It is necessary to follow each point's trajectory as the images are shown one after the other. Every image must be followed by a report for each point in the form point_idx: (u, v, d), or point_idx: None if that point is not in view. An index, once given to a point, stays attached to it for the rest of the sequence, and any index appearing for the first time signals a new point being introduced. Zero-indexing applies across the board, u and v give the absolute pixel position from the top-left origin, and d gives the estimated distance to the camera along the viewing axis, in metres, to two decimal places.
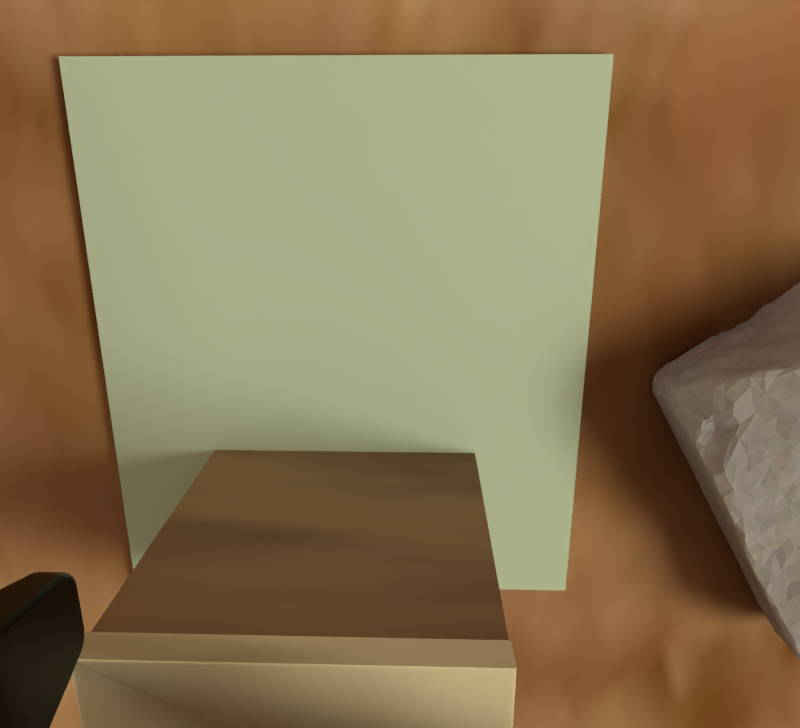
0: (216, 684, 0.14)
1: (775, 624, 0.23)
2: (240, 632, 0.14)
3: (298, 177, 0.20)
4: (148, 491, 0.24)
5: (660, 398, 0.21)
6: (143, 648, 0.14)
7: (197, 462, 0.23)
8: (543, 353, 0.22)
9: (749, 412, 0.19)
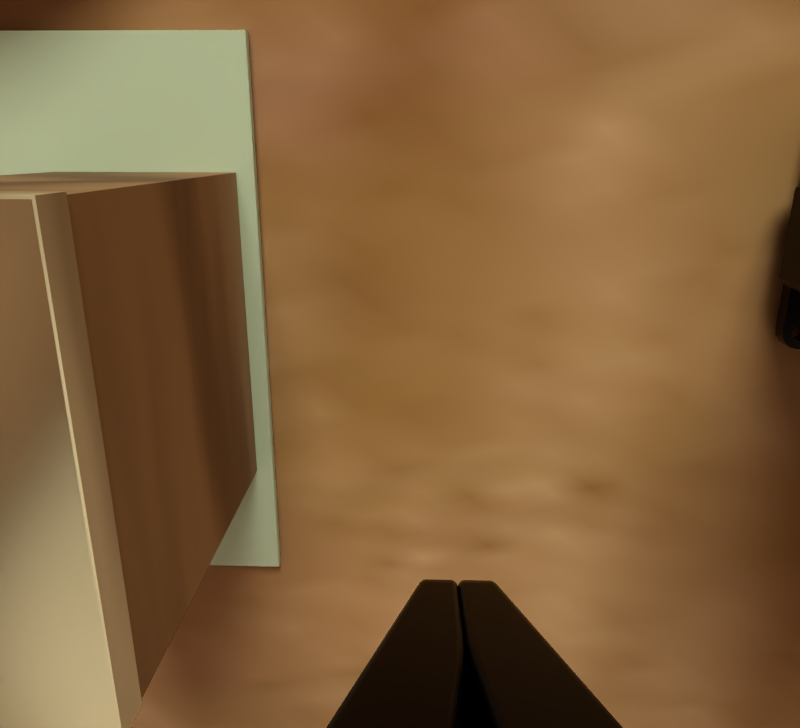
0: None
1: None
2: None
3: None
4: None
5: None
6: None
7: None
8: None
9: None
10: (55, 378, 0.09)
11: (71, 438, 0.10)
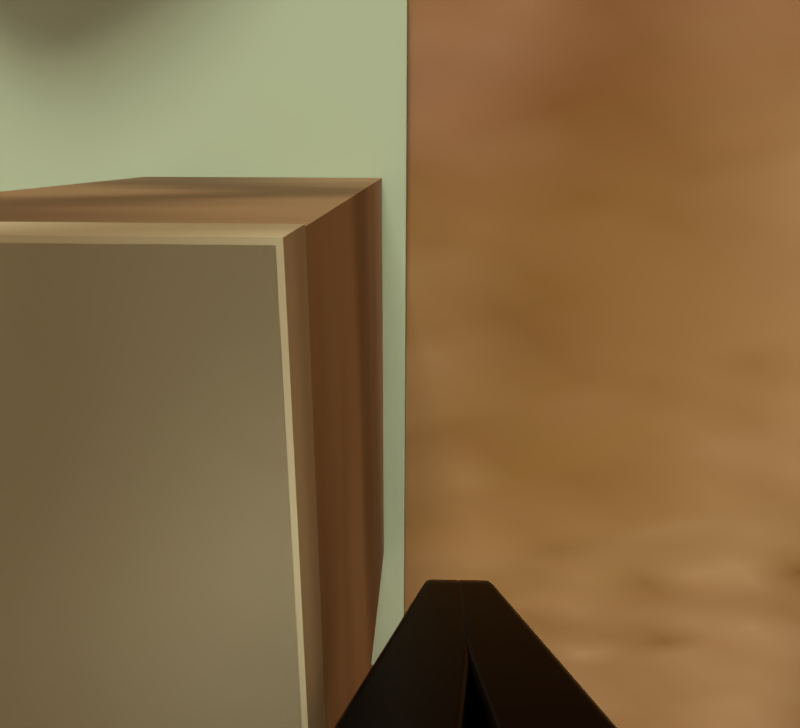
0: None
1: None
2: None
3: None
4: None
5: None
6: None
7: None
8: None
9: None
10: (283, 570, 0.05)
11: (300, 668, 0.05)
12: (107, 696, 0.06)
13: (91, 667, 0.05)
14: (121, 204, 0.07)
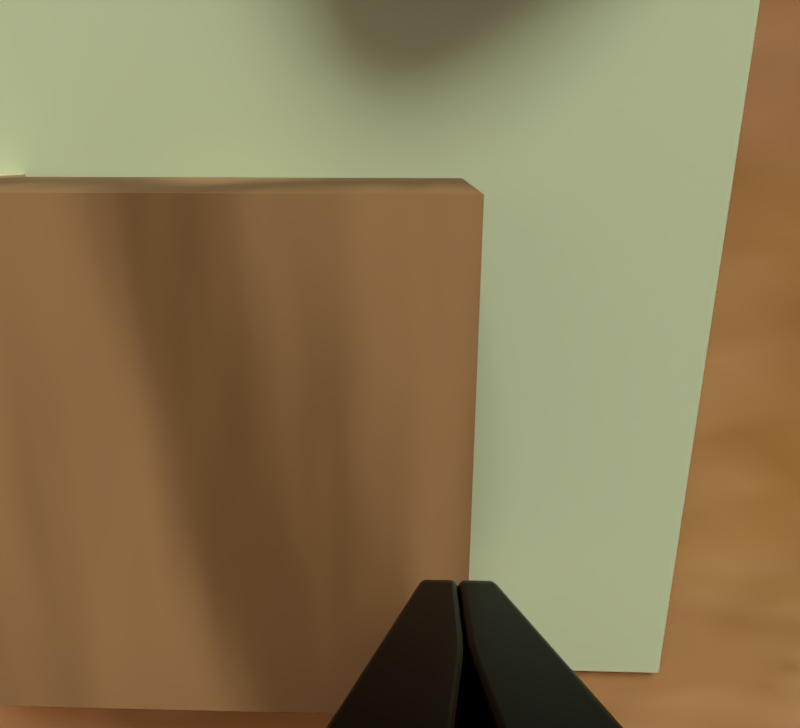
0: None
1: None
2: None
3: None
4: None
5: None
6: None
7: (471, 577, 0.17)
8: (285, 67, 0.13)
9: None
10: None
11: None
12: None
13: None
14: (67, 183, 0.11)
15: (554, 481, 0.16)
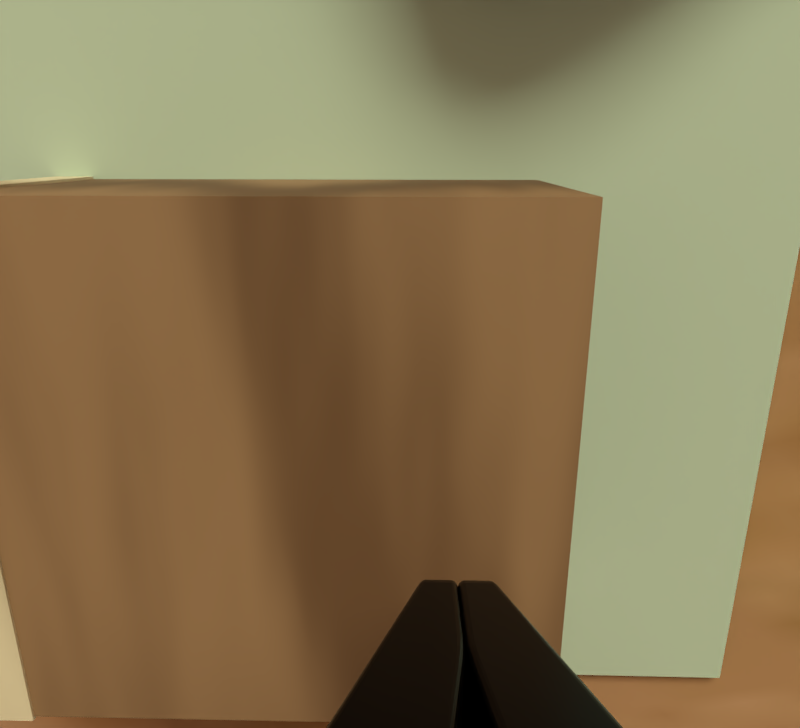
0: None
1: None
2: None
3: None
4: (574, 644, 0.17)
5: None
6: None
7: None
8: (361, 68, 0.13)
9: None
10: None
11: None
12: None
13: None
14: (153, 186, 0.11)
15: (621, 485, 0.16)
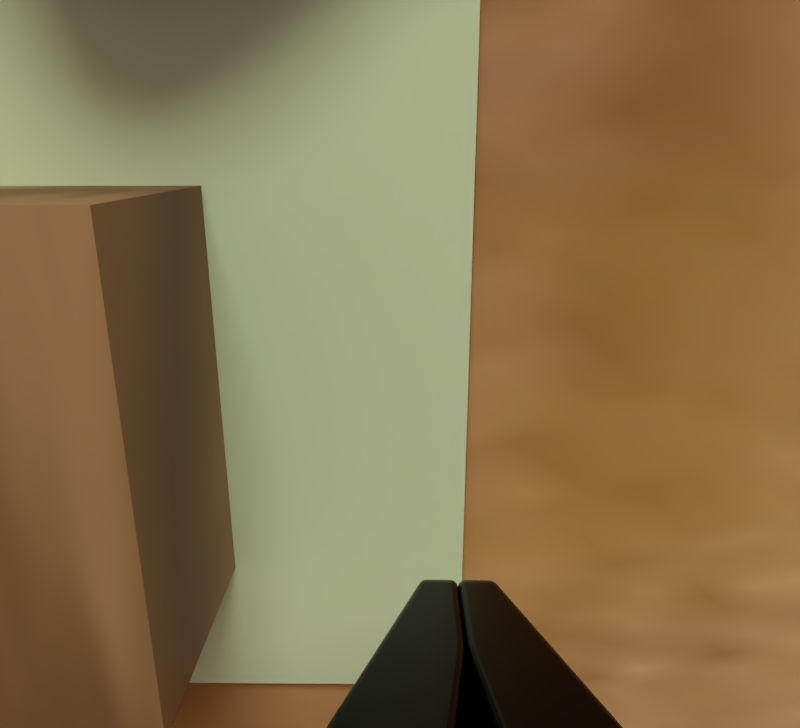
0: None
1: None
2: None
3: None
4: (308, 653, 0.17)
5: None
6: None
7: (258, 591, 0.16)
8: (6, 73, 0.13)
9: None
10: None
11: None
12: None
13: None
14: None
15: (331, 493, 0.16)
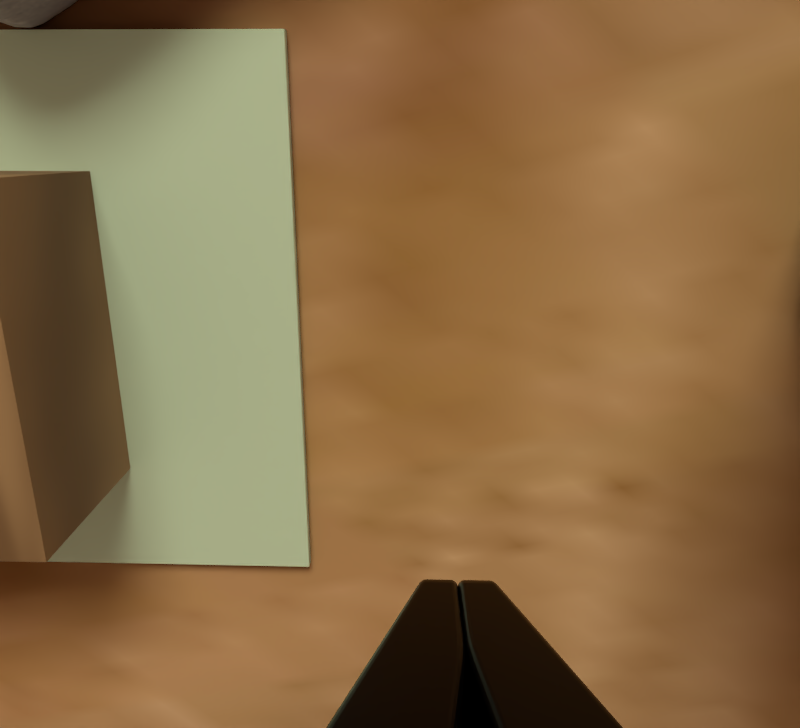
0: None
1: None
2: None
3: None
4: (190, 539, 0.22)
5: (20, 20, 0.16)
6: None
7: (149, 487, 0.21)
8: None
9: None
10: None
11: None
12: None
13: None
14: None
15: (200, 408, 0.20)
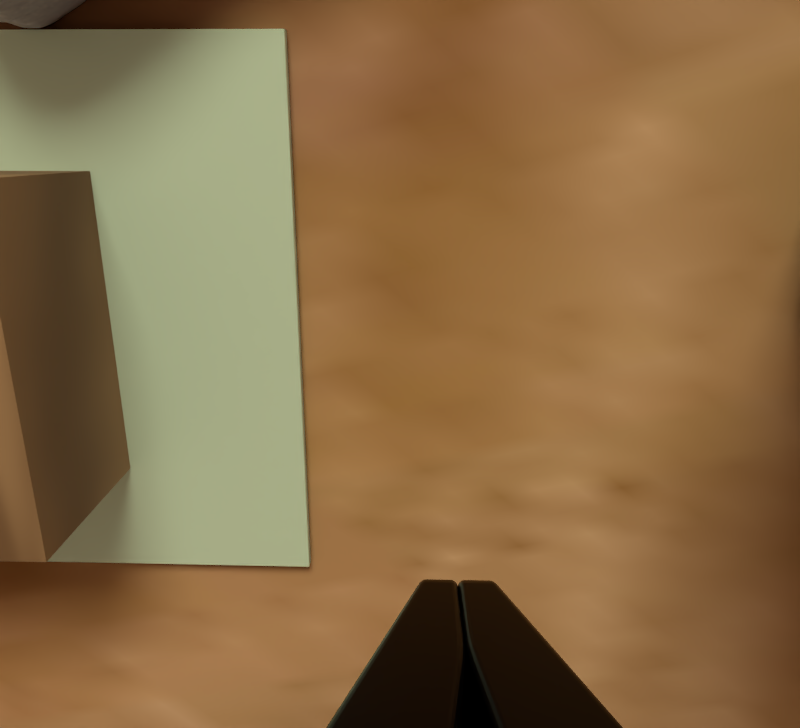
0: None
1: None
2: None
3: None
4: (190, 538, 0.22)
5: (28, 21, 0.16)
6: None
7: (149, 487, 0.21)
8: None
9: None
10: None
11: None
12: None
13: None
14: None
15: (200, 408, 0.20)
